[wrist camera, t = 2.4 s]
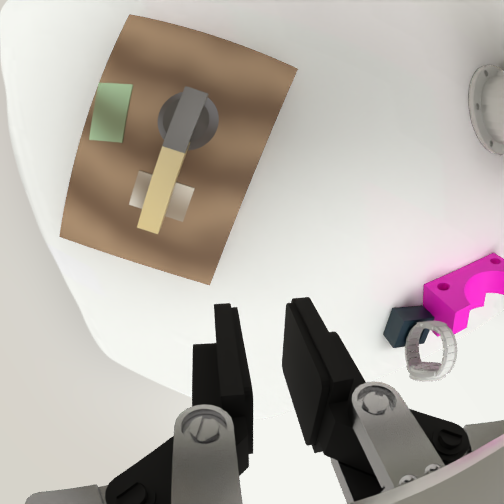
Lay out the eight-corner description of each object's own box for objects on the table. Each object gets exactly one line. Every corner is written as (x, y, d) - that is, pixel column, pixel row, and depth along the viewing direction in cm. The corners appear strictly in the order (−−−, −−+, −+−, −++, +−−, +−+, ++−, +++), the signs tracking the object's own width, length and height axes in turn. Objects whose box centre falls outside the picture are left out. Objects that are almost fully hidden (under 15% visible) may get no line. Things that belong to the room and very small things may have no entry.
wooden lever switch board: (134, 20, 22) (128, 13, 20) (292, 72, 26) (298, 68, 24) (67, 230, 28) (58, 237, 26) (209, 276, 33) (209, 286, 31)
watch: (379, 345, 40) (416, 399, 30) (396, 296, 37) (443, 346, 27) (409, 341, 41) (447, 389, 31) (427, 294, 38) (474, 339, 28)
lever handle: (178, 88, 23) (174, 82, 20) (218, 101, 24) (219, 97, 21) (135, 212, 27) (126, 224, 23) (172, 224, 28) (168, 238, 24)
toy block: (420, 319, 40) (449, 349, 33) (422, 283, 38) (455, 312, 31) (488, 285, 41) (517, 307, 34) (492, 252, 38) (524, 272, 31)
